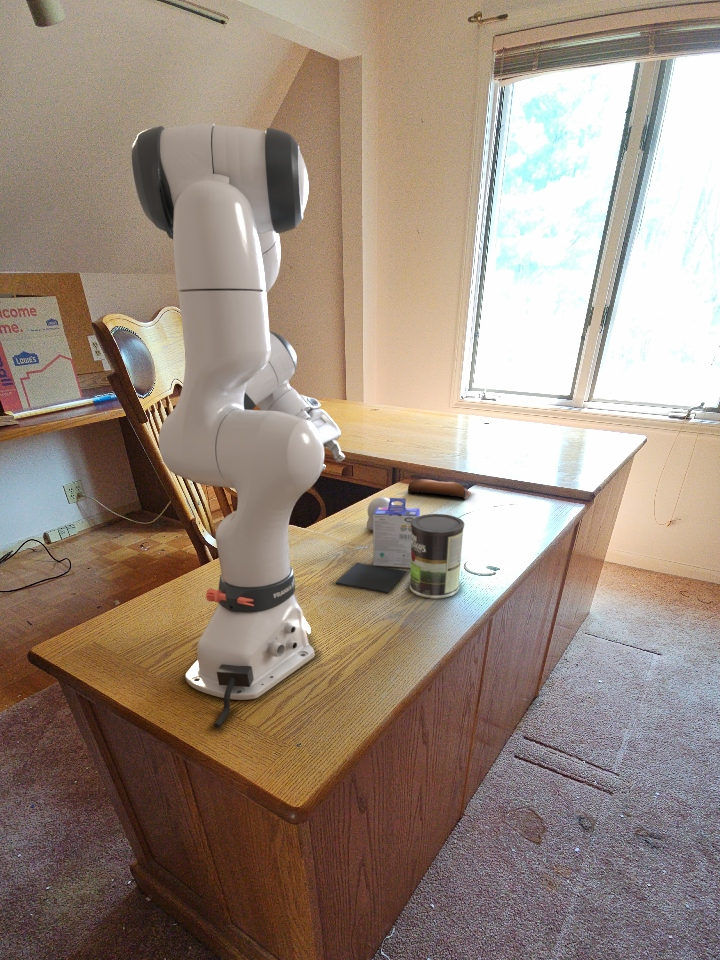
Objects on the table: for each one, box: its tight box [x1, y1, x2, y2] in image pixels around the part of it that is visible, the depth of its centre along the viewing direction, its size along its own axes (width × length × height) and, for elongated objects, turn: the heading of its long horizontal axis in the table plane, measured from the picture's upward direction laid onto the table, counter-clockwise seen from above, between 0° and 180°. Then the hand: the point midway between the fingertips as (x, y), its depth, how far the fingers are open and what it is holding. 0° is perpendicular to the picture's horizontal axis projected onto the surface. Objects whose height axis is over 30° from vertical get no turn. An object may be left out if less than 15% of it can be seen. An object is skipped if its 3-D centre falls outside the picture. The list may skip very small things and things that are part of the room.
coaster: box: [335, 562, 408, 594], centre depth 121 cm, size 11×12×1 cm
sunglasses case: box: [407, 478, 472, 500], centre depth 170 cm, size 18×7×7 cm, turn 64°
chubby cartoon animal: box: [366, 496, 403, 531], centre depth 142 cm, size 7×12×8 cm, turn 56°
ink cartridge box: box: [372, 497, 421, 569], centre depth 124 cm, size 10×6×14 cm, turn 78°
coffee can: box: [409, 513, 465, 600], centre depth 112 cm, size 10×10×14 cm
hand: (332, 465), depth 122 cm, fingers open, 8 cm apart
